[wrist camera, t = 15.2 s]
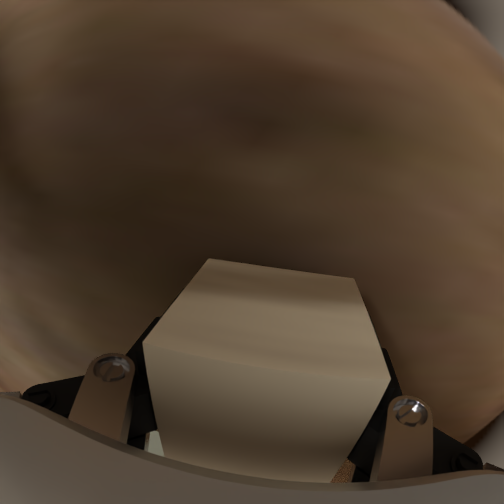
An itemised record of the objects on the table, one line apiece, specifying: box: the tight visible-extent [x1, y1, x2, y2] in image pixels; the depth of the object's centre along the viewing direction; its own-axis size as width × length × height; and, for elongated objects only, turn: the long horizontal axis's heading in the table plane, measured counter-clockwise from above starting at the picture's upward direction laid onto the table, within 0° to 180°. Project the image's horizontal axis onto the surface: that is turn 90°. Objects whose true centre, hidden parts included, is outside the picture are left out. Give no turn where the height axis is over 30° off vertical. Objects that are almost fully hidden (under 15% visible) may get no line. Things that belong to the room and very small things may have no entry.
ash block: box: [142, 258, 391, 483], centre depth 8 cm, size 5×5×5 cm
